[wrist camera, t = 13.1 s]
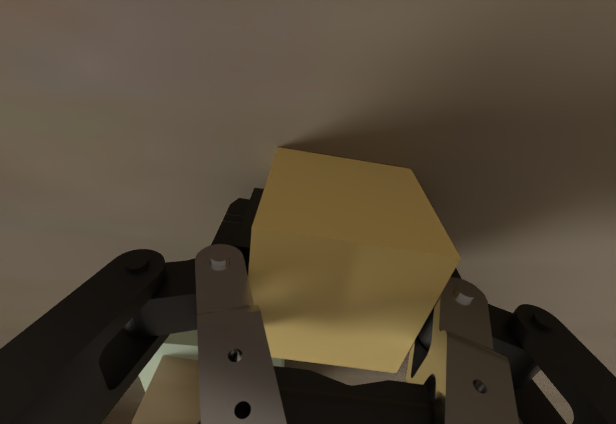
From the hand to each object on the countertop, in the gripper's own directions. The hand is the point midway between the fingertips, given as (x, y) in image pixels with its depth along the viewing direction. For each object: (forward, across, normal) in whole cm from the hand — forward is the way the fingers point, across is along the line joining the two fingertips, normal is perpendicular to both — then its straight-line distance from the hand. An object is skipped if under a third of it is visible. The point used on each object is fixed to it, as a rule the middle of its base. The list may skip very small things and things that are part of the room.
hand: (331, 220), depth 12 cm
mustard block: (0, 0, 0) cm, 0 cm away
